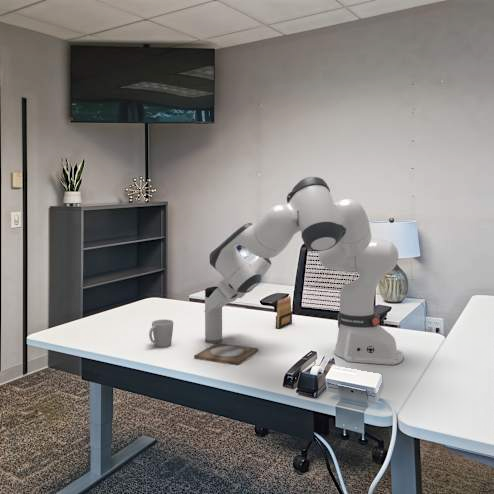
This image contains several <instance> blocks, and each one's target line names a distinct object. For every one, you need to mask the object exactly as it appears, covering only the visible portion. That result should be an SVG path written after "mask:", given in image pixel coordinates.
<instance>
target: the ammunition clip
mask: <svg viewBox="0 0 494 494" xmlns="http://www.w3.org/2000/svg"><path fill="white" fill-rule="evenodd" d="M291 301H292V300H291V296H290V295H289V296H288V295H287V296H286V297H283V298H280V299H278V300H277V303H276V305H277V306H276V307H277V308H276V316H275V329H277V330H282V329H283V328H285V327H288V326H290V325H292V324H293V312H292V302H291Z"/></svg>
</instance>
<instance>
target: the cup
mask: <svg viewBox="0 0 494 494" xmlns="http://www.w3.org/2000/svg"><path fill="white" fill-rule="evenodd" d="M173 330H174V321H173V320H171V319H155V320H152V322H151V327H150V329H149V333H148V334H149V340H150V341H151V342H150V343H152V344H154V346H155V347H156V348H169V347H170V346H171V345H172V341H173Z"/></svg>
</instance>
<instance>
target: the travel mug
mask: <svg viewBox="0 0 494 494" xmlns="http://www.w3.org/2000/svg"><path fill="white" fill-rule="evenodd" d="M217 288H218V285H217V286H210V287H207V288H205V290H204V311H205V310H206V308H207V305H206V304H205V303H206V300H207V299H208V298H209V297H210V295H211V294H212V293H213V292H214V291H215V290H216V289H217ZM204 330H205V331H204V333H205V334H204V337H205V339H204V340H205V342H207V343H210V344H216V343H221V342H222V341H223V307H222V306H221V307H218V308H216V309H214V310H212V311H211V312H210V313H209V314H206V313H205V312H204Z"/></svg>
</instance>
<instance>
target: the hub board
mask: <svg viewBox="0 0 494 494" xmlns="http://www.w3.org/2000/svg"><path fill="white" fill-rule="evenodd" d="M258 352H259V348H257V347H252V346H245V345H235V344H229V343H221V342H218V343H213V344H212V345H210V346H209V347H207V348H205V349H203V350H201V351H199V352H198V353H196V354H194V355H193V358H194V359H195V360H202V361H208V362H216V363H220V362H221V363H222V364H227V363H228V365H233V364H234V365H235V366H239V365H240V364H242V363H243V361H244V362H245V361H247V360H248V359H249V358H251V357H252V356H254V355H256V353H258Z"/></svg>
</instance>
